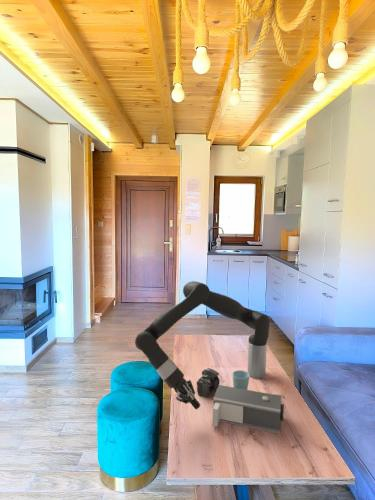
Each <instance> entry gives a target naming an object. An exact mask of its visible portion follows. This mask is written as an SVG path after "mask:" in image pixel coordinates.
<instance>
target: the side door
mask: <svg viewBox="0 0 375 500" xmlns="http://www.w3.org/2000/svg"><path fill="white" fill-rule="evenodd" d="M220 419H223V420H228V421H233V422H238V423H242V424H243V406H239V405H234V404H228V403H223V402H218V401H216V402H215V404H214V403H213V407H212V424H211V426H212V427H218V425H219V423H220Z"/></svg>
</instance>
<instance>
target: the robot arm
mask: <svg viewBox="0 0 375 500" xmlns="http://www.w3.org/2000/svg"><path fill="white" fill-rule="evenodd" d="M182 293H183V296H184V297H185V298H184V299H183V300H182V301H181V302H179V303H177V304H176V305H173V306H171V307H170V308H168V309H166V310H164V311H163V312H162V313H160V314H159V315H158V316H157V317H156V318H155V319H154V320H153V321H152V322H151V324H150V325H149V326H147V327H146V328H145V329H144V330H143V331H141V332H139V333H138V334H137V335H136V337H135V339H134V344H135V347H136V348H137V349H138V350H139V351H141V352H142V353H143V354H144V355H145V356H146V358H147V359H148V362H149V363H150V364H151V366H152V367H153V368H154V370H156V372H157V373H158V376H159V377H160V378H161V379H162V380H163V382H164V383H165V384H166V385H167V387H168V388H170V389H174V392H175V393H176V395H177V396H176V397H175V399H176V400H177V401H179V402H181V403H184V404H186V405H187V404H188V403H189V404H190V405H191V406H192V407H193V408H194V409H195V410H198V409H199V408H200V407H201V403H200V402H199V400H197V398H196V396H195V395H196V391H195V389H194V385H193V383H192V381H191V380H190V379H189V380H186V378H184V377H185V374H184V373H183V372H182V370H181V369H180V368H179V367H178V365H176V363H175V362H174V361H173V360H172V359H171V358H170V357H169V356H168V354H166V352H165V351H164V350H163V348H161V346H160V345H159V343H158V341H157V340H159V338H160V337H162V336H163V335H164V334H166V333H167V332H168V331H169V330H170V329H171V328H173V326H174V325H175V324H176V323H178V322H179V321H180V320H181V319H182V318H184V317H185V316H186V315H188V314H189V313H191V312H192V311H193V310H195V309H196V308H198V307H199V306H201V305H204V306H205V307H208V308H209V309H210V310H212V311H214V312H216V313H217V314H220V315H221V316H224V317H226V318H228V319H232V320H236V321H239V322H241V323H243V324H244V325H246V326H247V327H249V328H250V329H253V330H254V334H251V335H249V337H248V345H247V347H248V348H247V349H248V350H247V351H248V353H247V354H248V355H247V373H249V375H250V376H249V378H250V377H251V378H254V379H264V378H265V377H266V374H267V372H266V371H267V342H268V339H269V335H270V333H269V332H270V322H271V321H270V318H269V316H268V315H267V314H265V313H262V312H260V311H257V310H254V309H251V308H247V307H245V306H243V305H242V304H241V303H240V302H239V301H237V300H235V299H234V298H232V297H229V296H227V295H225V294H222V293H219V292H215V291H211V290H210V288H209V286H208V285H207V284H205V283H203V282H199V281H193V280H192V281H188V282H187V283H185V284H184V286H183V290H182Z"/></svg>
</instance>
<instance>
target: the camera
mask: <svg viewBox="0 0 375 500" xmlns="http://www.w3.org/2000/svg"><path fill="white" fill-rule="evenodd" d="M201 375H202V376H201V377H199V378H198V380H197V381H196V392H197V395H199V396H200V397H202V398H203V397H204V398H208V397H209V398H210V394H211V393H210V392H213V391H217V389H218V386H219V385H220V381H221V380H220V378H219V375H220V373H219V372H218V371H217V370H215V369H213V368H210V367H207V368H205V369H203V370H202V371H201Z"/></svg>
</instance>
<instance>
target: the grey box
mask: <svg viewBox="0 0 375 500" xmlns="http://www.w3.org/2000/svg"><path fill="white" fill-rule="evenodd" d="M215 391H216V392H215V394H214V396H213V399H212V401H213V405H214V404H215V402H216V401H218V402H223V403H228V404H234V405H239V406H243V424H242V423H238V422H233V421H228V420H223V419H220V421H219V423H226V424H231V425H235V426H238V427H245V428H248V429H249V428H250V429H253V430H254V429H255V430H259V431H264V432H268V433H272V434H277V435H280V433H281V432H280V430H281V422H283V421H284V416H285V415H284V412H285V410H284V409H285V404H284V403H282V395H278V394H273V393H268V392H267V393H266V392H261V391H256V390H250V389H247V390H245V389H239V388H234V386H233V387H232V386H226V385H221V384H219V386H218V388H217V389H216V390H215Z"/></svg>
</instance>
